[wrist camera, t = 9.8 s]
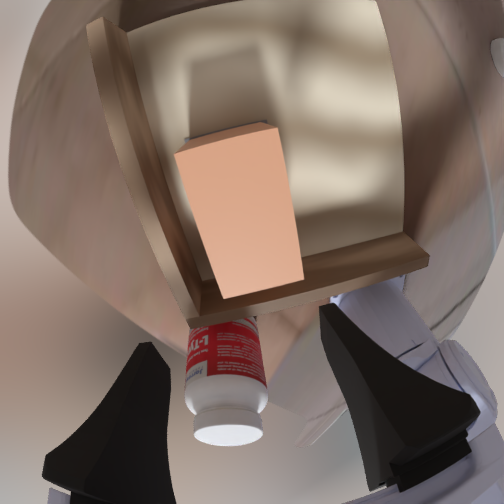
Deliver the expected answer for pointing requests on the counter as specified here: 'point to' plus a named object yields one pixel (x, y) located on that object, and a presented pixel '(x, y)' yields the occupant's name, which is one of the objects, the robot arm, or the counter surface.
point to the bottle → (498, 54)
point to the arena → (272, 113)
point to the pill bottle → (226, 382)
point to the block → (243, 207)
